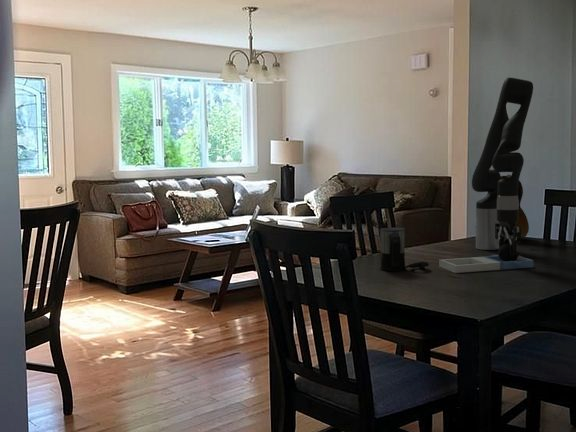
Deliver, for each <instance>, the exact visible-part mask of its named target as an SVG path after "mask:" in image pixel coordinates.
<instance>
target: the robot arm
mask: <svg viewBox="0 0 576 432" xmlns="http://www.w3.org/2000/svg"><path fill="white" fill-rule="evenodd" d="M500 89H501V90H500V93H499V98H498V101H497V105H496V109H495V113H494V115H493V119H492V121H491V125H490V127H489V129H488V133H487V136H486V140H485V143H484V147H483V149H482V152H481V155H480V158H479V160H478V163H477V164H476V166H475V169H474V172H473V174H472V178H471V187H472V190H473V191H474V192H476V193H487V194H486V196H485V197H482V198H481V199H479V200H477V201H476V205H475V207H476V209H475V212H476V213H475V214H476V215H475V219H476V221H475V222H476V223H475V224H476V225H475V248H476V249H478V250H482V251H483V250H484V251H485V250H486V251H492V250H493V251H495V250H499V248H500V247H501V246H502V245H504V244H506V240H508V242H509V244H510V255H516V252H518V251H517V245H519V244H521V242H522V241H521V240H522V237H521V227H516V224H515V222H516V221H518V220H519V200H518V182H519V181H520V178H521V177H520V176H521V173H522V170H523V167H524V161H525V159H524V156H523V154H521V153H520V152H518V150H519V149H520V148H521V145H522V139H523V132H524V125H525V122H526V119H527V116H528V111H529V109H530V105H531V102H532V98H533V93H534V84H533V81H530V80H526V79H522V78H516V77H506V78H505V79H504V81H503V83H502V86H501V88H500ZM508 103H510V104H513V105H514V104H515V105H518V106H519V105H520V106H519V108H518V110H517V112H515V113H514V114H513V115H512V116H511V117H509V115H508V111H507V110H508V109H507V104H508ZM516 151H517V152H516ZM491 168H492V169H491ZM501 173H512V174H510V175H511V177H509V178H505V179H501V176H502V175H501ZM499 221H500V223H499ZM512 235H513V236H512ZM506 237H507V239H506ZM517 237H518V238H517Z"/></svg>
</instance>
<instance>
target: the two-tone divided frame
mask: <svg viewBox="0 0 576 432" xmlns="http://www.w3.org/2000/svg"><path fill="white" fill-rule="evenodd" d="M522 257H523V258H524V260H522V261H516V260H515V261H508V262H506V261H503V260H501V259H500V257H499V256H498V254H491V256H490V255H489V256H488V255H487V256H475V257H473V256H472V257H462V258H459V257H458V258H447V259H446V258H445V259H443V258H442V259H438V262H439V263H438V266H439V268H442V269H445V270H447V271H449V272H452V273H455V274H458V273H472V272H474V273H475V272H484V271H485V272H486V271H488V272H489V271H499V270H500V271H501V270H502V271H503V270H511V269H512V270H514V269H527V268H534V260H533V259H531V258H526V257H524V256H522Z"/></svg>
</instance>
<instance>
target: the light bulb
mask: <svg viewBox="0 0 576 432" xmlns="http://www.w3.org/2000/svg"><path fill="white" fill-rule="evenodd" d="M497 255H498V256H499V257H500V259H501V260H503V261H506V262H508V261H515V260H516V261H522V260H524V258H525V257H524V256H521V255H519V252H518V251H517V252H516V255H510V243H505V244H504V245H502V246H501V247H500V248H499V249H497ZM523 257H524V258H523Z"/></svg>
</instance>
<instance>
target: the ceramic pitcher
mask: <svg viewBox="0 0 576 432" xmlns="http://www.w3.org/2000/svg"><path fill="white" fill-rule="evenodd" d="M511 175H512V174H507V175H501V179H505V178H509V177H511ZM523 195H524V189H523V184H522V182H521V180H519V182H518V200H519V220H518V221H516V222H515V224H516V227H521V238H525V237H526V236H528V233H529V232H530V231H529V230H530V229H529V228H530V227H529V221H528V216H527V215H526V213H525V211H524V210H523V209H522V207H521V204H522V203H521V202H522V199H523ZM499 223H500V221H499ZM512 236H513V235H512ZM517 239H518V237H517ZM506 240H508V239H507V237H506Z"/></svg>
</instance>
